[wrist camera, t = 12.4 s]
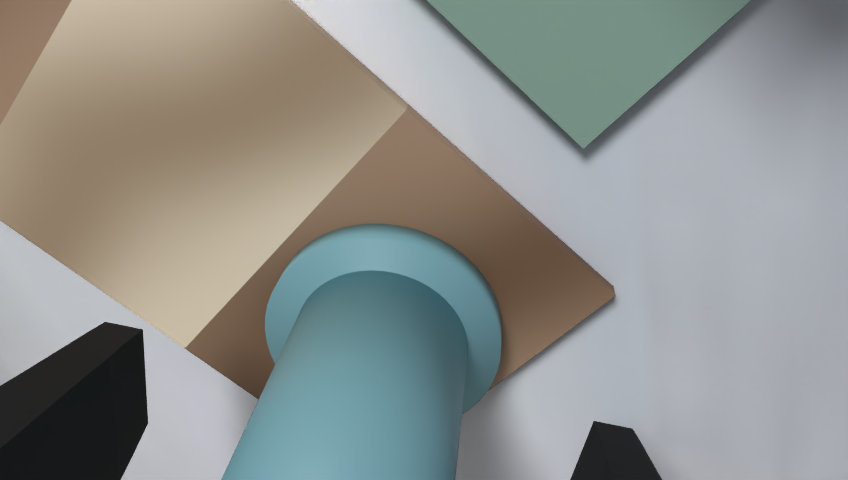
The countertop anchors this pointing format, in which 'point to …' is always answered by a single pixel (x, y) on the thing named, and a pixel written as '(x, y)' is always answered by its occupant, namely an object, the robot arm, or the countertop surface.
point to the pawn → (371, 360)
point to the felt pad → (586, 49)
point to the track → (241, 170)
